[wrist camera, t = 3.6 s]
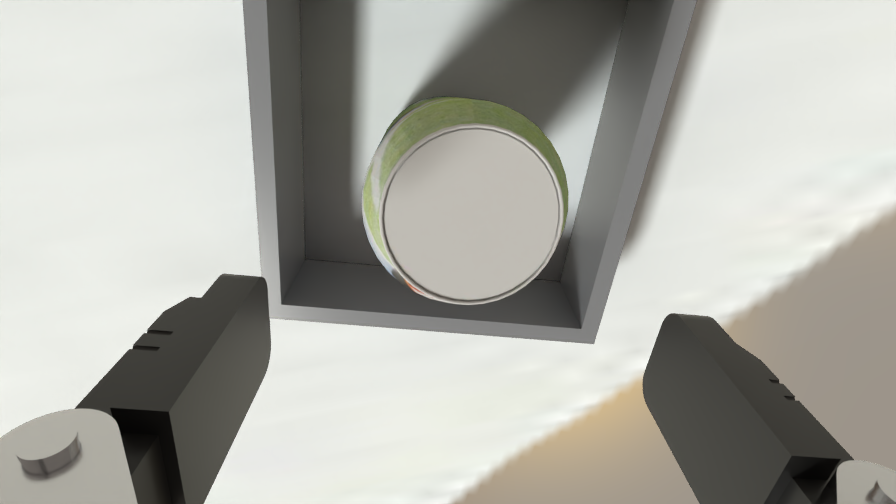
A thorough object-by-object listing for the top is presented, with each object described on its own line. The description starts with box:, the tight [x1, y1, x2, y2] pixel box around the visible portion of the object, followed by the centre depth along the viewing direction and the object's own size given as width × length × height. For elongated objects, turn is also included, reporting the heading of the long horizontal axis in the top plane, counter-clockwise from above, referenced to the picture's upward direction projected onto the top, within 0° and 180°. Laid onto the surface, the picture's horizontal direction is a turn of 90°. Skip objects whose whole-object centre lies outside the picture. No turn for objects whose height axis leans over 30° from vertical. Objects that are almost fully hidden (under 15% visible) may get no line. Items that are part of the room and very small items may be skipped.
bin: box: [243, 0, 697, 344], centre depth 22 cm, size 16×16×4 cm
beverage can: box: [362, 96, 568, 305], centre depth 18 cm, size 6×7×12 cm
